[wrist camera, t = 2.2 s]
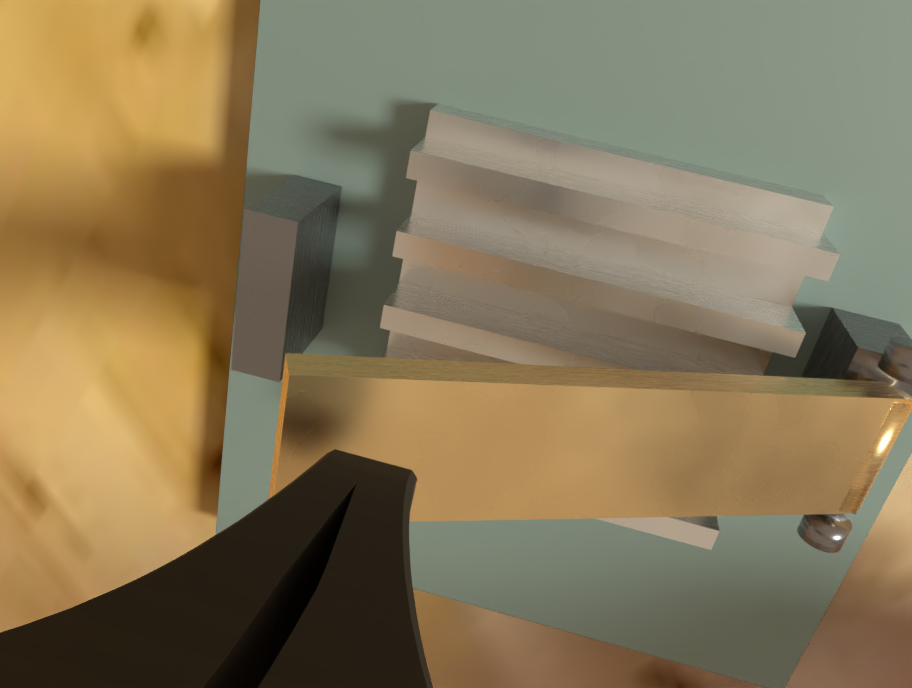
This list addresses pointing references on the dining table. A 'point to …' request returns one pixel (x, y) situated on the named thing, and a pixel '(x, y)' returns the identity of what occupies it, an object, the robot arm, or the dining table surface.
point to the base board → (629, 126)
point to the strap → (590, 437)
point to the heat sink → (571, 272)
